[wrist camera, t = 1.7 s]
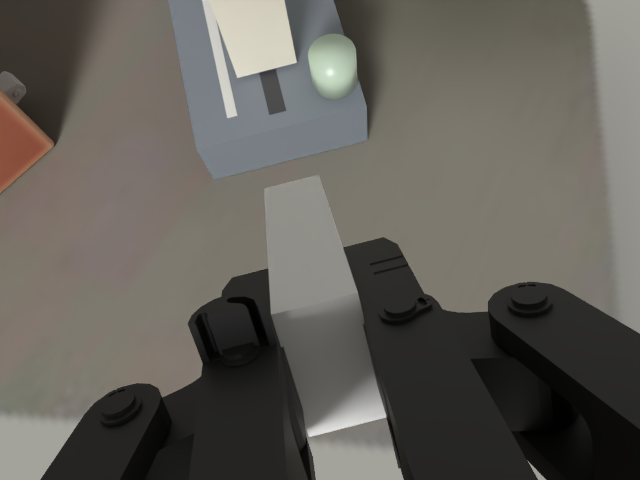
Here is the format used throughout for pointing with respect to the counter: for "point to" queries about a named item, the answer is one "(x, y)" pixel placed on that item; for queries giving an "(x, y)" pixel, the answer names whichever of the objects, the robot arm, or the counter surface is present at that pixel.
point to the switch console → (261, 94)
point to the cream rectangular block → (255, 34)
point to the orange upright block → (17, 133)
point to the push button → (333, 66)
